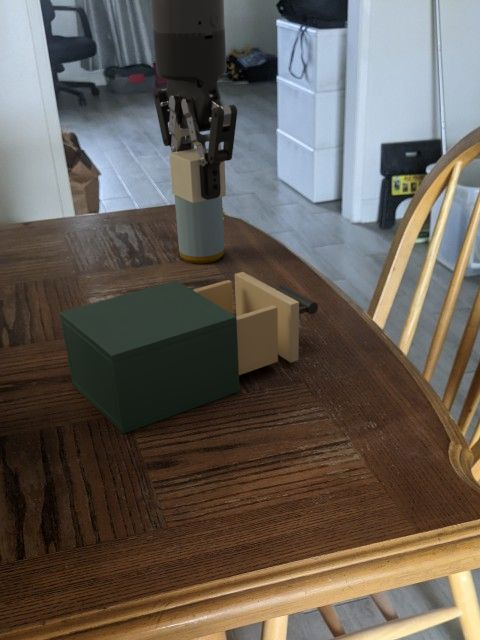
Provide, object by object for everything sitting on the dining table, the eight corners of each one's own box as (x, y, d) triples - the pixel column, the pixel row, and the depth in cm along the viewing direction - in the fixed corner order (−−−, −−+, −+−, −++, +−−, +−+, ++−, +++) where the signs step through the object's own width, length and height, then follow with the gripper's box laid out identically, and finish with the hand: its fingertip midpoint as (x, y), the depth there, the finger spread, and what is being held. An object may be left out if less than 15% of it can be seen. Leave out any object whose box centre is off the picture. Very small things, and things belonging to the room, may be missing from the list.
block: (192, 203, 89) (190, 161, 86) (172, 194, 92) (168, 152, 89) (226, 196, 91) (224, 154, 88) (205, 187, 94) (202, 146, 91)
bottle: (209, 245, 126) (204, 146, 117) (233, 258, 121) (228, 156, 112) (171, 254, 122) (162, 154, 114) (194, 268, 118) (186, 164, 109)
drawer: (274, 316, 102) (274, 262, 97) (330, 348, 94) (332, 291, 90) (150, 356, 93) (144, 298, 89) (201, 395, 86) (196, 334, 81)
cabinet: (182, 350, 96) (176, 279, 91) (239, 391, 88) (236, 316, 82) (72, 386, 89) (59, 312, 84) (123, 434, 81) (111, 355, 76)
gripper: (124, 22, 84) (140, 184, 94) (194, 35, 75) (205, 214, 85) (183, 16, 88) (193, 174, 98) (258, 28, 78) (260, 201, 89)
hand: (198, 192), depth 91 cm, fingers closed on block, 4 cm apart
